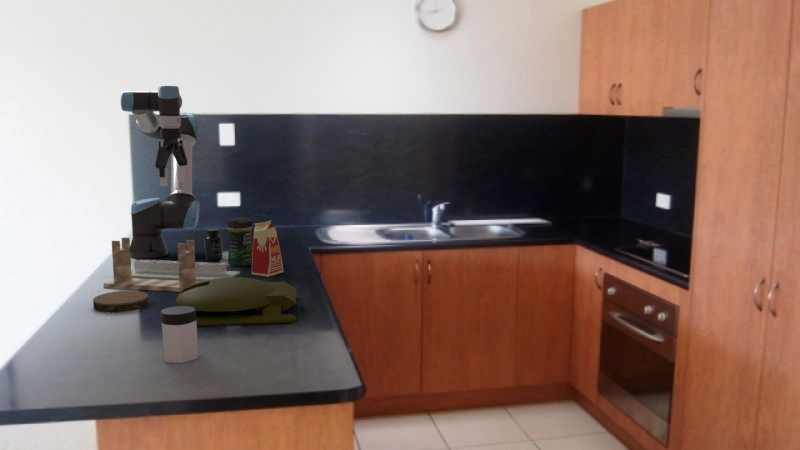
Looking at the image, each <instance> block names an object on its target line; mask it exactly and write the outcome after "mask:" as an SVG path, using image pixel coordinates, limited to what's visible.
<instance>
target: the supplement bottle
mask: <svg viewBox="0 0 800 450" xmlns="http://www.w3.org/2000/svg"><path fill="white" fill-rule="evenodd" d="M204 256H205V257H204V259H205V260H206V261H210V262H214V261H221V260H223V257H224V256H223V238H222V236H220V229H218V228H210V229H207V230H206V236H205V238H204Z"/></svg>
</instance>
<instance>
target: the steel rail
mask: <svg viewBox="0 0 800 450" xmlns="http://www.w3.org/2000/svg"><path fill="white" fill-rule="evenodd" d="M227 265H228V264H227V263H226V262H225V263H224V262H204V261H195V271H196V275H200V276H221V277H222V276H224V275H226V274H227V271H228V269H227V268H228V267H227ZM134 269H135V272H139V273H159V274H179V262H178V260H164V259H163V260H162V259H161V260H159V259H157V260H156V259H142V258H139V259H138V260H134Z"/></svg>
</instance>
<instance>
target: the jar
mask: <svg viewBox="0 0 800 450" xmlns="http://www.w3.org/2000/svg"><path fill="white" fill-rule="evenodd" d="M196 318H197V310H196V309H195V308H194V307H191V306H179V305H176V306H170V307H167V308H163V309H162V310H161V311H160V320H161V321H160V322H161V333H162V355H163V362H164V363H167V364H168V363H171V364H185V363H188V362H191V361H195V360H198V359H199V350H198V346H199V345H198V327H197V322H196Z"/></svg>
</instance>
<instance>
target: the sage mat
mask: <svg viewBox="0 0 800 450" xmlns="http://www.w3.org/2000/svg"><path fill="white" fill-rule="evenodd" d="M131 274H132V278H138V279H158V280H178V281H179V274H159V273H139V272H135V268H134V269H131ZM240 274H241V271H237V270H235V271H233V270H227V274H226V275H224V276H222V277H221V276H200V275H196V281H198V282H203V281H207V280H211V279H218V278H229V277H238V276H239V275H240Z"/></svg>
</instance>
